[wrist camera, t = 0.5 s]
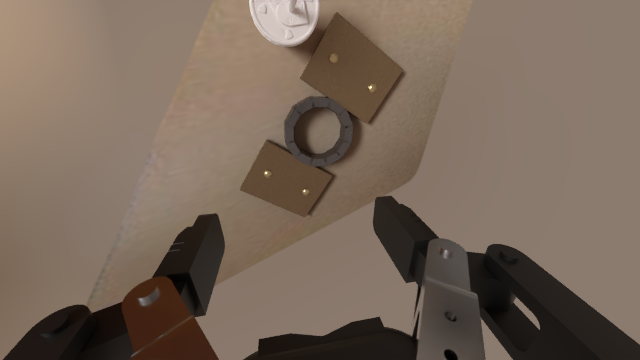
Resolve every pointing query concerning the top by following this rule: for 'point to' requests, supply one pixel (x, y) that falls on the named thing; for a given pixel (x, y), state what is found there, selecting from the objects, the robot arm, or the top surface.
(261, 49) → the top surface
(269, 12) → the smoothie
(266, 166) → the hinge base
